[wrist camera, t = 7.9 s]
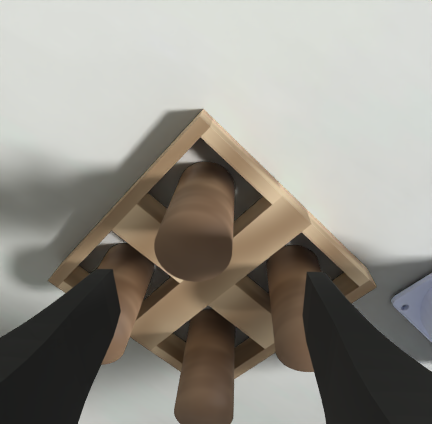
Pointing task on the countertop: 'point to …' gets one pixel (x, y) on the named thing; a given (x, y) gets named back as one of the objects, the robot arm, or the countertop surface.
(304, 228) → the stool seat
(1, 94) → the countertop surface
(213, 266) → the loose leg
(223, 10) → the countertop surface
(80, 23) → the countertop surface
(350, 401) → the robot arm
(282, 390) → the countertop surface
